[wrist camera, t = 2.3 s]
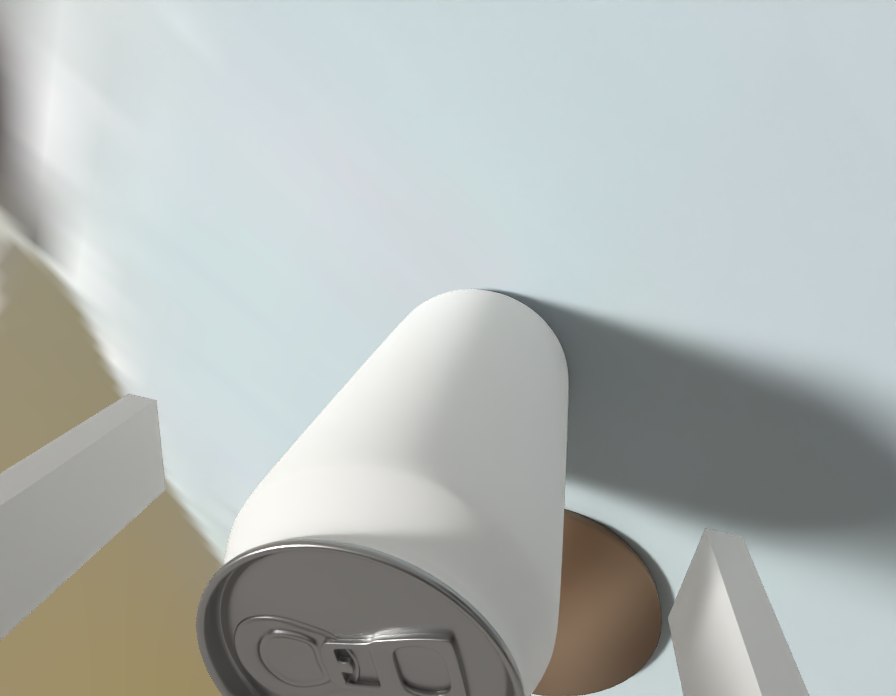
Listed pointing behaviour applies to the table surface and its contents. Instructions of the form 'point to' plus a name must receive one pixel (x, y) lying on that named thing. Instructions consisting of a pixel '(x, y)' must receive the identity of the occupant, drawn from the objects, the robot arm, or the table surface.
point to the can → (408, 522)
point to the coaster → (600, 612)
